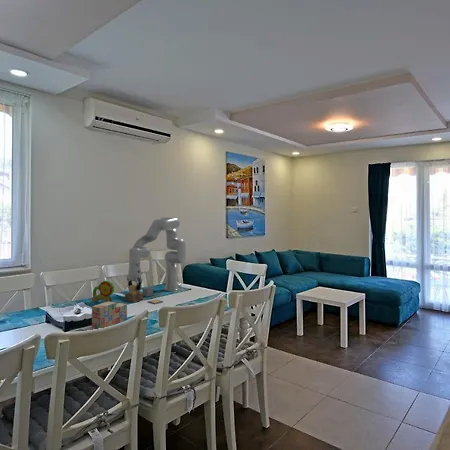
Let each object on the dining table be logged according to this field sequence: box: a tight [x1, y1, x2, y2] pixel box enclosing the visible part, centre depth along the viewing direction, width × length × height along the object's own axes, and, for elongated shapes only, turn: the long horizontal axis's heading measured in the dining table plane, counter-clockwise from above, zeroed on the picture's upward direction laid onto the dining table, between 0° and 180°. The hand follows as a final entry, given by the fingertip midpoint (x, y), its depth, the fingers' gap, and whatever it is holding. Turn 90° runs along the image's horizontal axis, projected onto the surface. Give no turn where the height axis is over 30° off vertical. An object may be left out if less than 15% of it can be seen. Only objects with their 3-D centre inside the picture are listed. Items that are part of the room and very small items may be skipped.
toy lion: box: [91, 280, 115, 303], centre depth 252 cm, size 16×5×15 cm, turn 74°
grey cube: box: [141, 286, 154, 297], centre depth 274 cm, size 6×6×6 cm
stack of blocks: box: [91, 301, 128, 330], centre depth 205 cm, size 21×6×12 cm, turn 154°
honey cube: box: [128, 284, 141, 295], centre depth 259 cm, size 6×6×6 cm
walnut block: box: [124, 292, 144, 303], centre depth 259 cm, size 9×9×5 cm
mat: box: [147, 299, 164, 305], centre depth 255 cm, size 8×8×1 cm
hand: (134, 289), depth 259 cm, fingers open, 9 cm apart
